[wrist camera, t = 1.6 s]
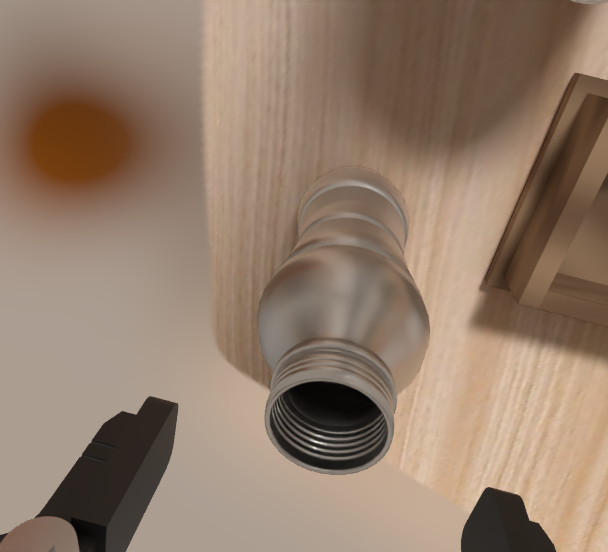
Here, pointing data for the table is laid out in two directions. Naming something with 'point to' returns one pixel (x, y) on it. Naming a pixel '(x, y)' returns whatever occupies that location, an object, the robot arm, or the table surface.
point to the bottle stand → (563, 215)
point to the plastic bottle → (342, 325)
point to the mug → (590, 1)
